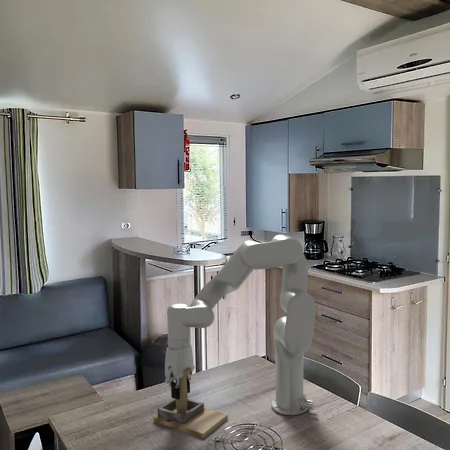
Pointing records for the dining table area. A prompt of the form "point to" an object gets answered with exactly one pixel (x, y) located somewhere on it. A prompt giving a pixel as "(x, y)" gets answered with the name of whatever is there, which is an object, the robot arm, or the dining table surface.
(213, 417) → the subfloor panel
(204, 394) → the dining table surface
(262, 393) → the dining table surface
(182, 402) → the handle
